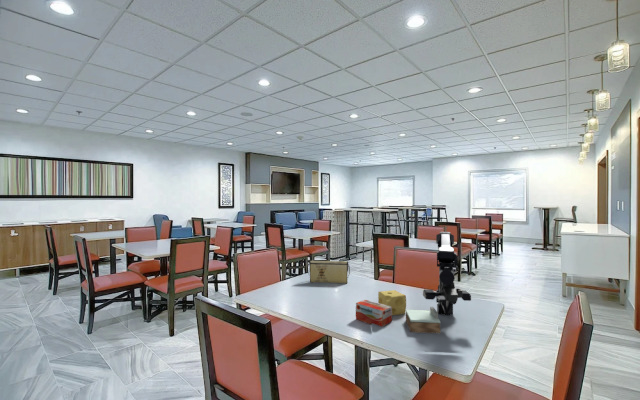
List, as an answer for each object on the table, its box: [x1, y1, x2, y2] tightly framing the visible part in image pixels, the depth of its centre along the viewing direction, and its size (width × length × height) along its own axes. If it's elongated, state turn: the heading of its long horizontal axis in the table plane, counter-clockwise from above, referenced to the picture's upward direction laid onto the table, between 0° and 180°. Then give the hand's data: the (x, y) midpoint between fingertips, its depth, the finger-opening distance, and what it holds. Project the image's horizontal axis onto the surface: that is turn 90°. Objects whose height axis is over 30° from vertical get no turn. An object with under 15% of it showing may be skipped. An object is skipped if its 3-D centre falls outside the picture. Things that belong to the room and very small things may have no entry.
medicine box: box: [355, 299, 393, 327], centre depth 142 cm, size 15×8×8 cm, turn 46°
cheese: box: [377, 289, 407, 316], centre depth 152 cm, size 10×11×10 cm
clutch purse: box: [306, 260, 351, 284], centre depth 211 cm, size 30×7×15 cm, turn 83°
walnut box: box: [405, 312, 441, 334], centre depth 133 cm, size 12×12×5 cm
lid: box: [405, 306, 441, 324], centre depth 133 cm, size 12×12×3 cm
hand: (446, 314), depth 132 cm, fingers closed
